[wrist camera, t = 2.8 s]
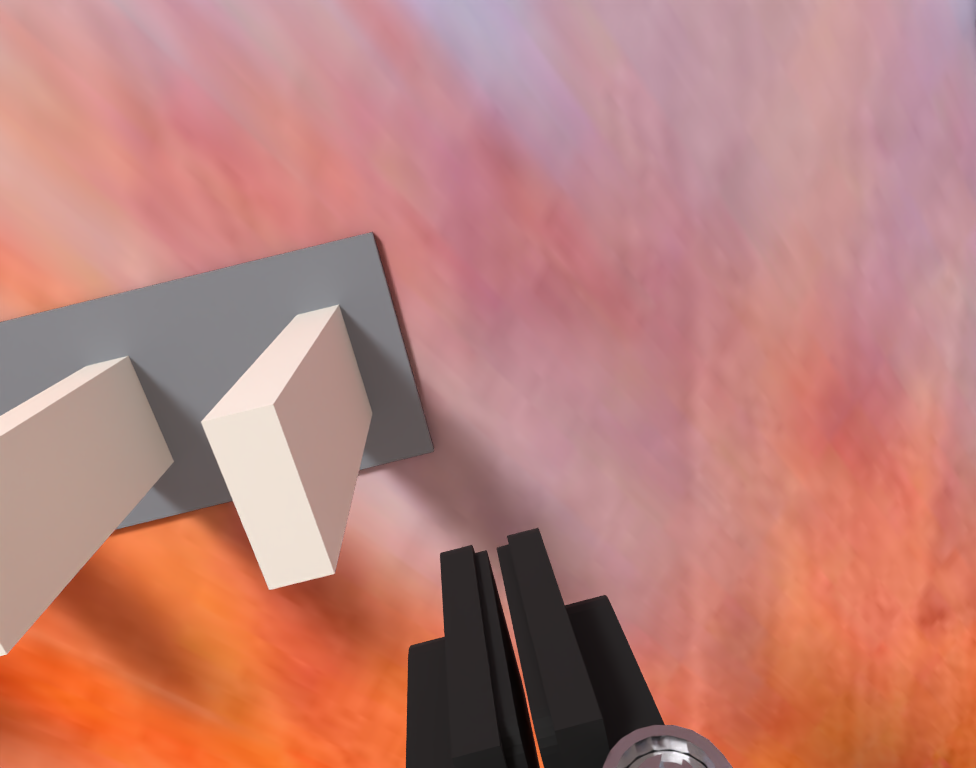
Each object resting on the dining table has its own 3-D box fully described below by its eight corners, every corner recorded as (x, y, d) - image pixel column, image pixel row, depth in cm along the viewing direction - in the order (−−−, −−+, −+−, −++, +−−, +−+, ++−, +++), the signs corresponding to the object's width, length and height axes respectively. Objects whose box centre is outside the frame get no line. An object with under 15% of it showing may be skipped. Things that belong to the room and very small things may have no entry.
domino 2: (338, 304, 27) (273, 404, 16) (372, 413, 29) (334, 573, 17) (296, 314, 27) (201, 421, 16) (332, 422, 29) (269, 589, 17)
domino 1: (128, 355, 27) (-90, 492, 16) (173, 461, 29) (7, 654, 17) (86, 365, 27) (-162, 510, 16) (134, 471, 29) (-59, 670, 17)
